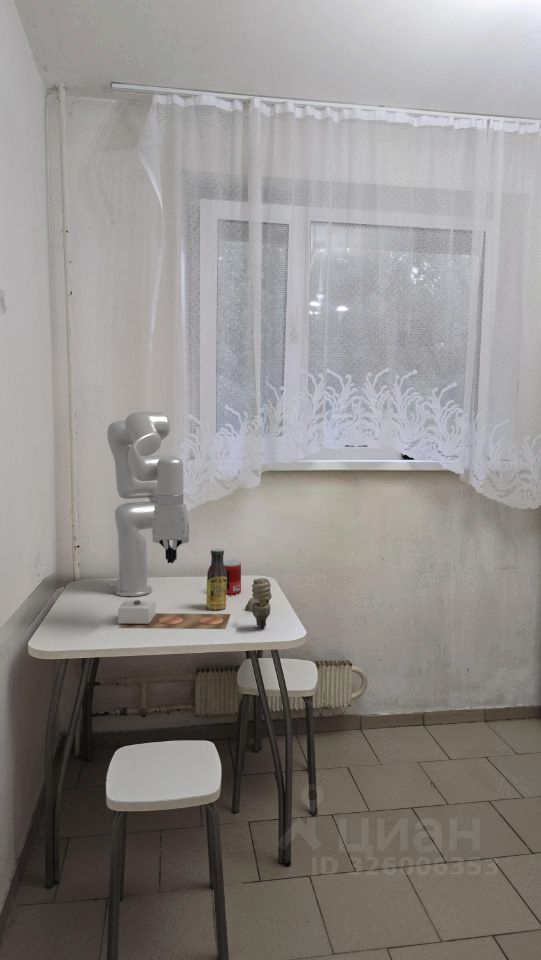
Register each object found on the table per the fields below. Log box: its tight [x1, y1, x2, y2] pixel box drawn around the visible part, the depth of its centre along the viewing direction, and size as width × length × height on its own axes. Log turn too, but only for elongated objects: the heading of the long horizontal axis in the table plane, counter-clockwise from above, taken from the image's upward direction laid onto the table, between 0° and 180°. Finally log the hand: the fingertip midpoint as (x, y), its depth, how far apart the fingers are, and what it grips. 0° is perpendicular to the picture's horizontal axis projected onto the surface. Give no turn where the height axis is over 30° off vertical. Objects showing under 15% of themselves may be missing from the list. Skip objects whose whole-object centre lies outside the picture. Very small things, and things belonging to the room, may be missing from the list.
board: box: [117, 612, 231, 630], centre depth 193 cm, size 31×14×1 cm, turn 88°
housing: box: [117, 599, 157, 624], centre depth 193 cm, size 9×9×5 cm
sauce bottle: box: [205, 548, 227, 612], centre depth 205 cm, size 7×6×20 cm
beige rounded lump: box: [244, 591, 273, 613], centre depth 207 cm, size 6×8×10 cm
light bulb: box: [251, 577, 272, 630], centre depth 189 cm, size 6×6×15 cm
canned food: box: [223, 559, 242, 596], centre depth 227 cm, size 8×8×11 cm
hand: (171, 561), depth 192 cm, fingers closed
